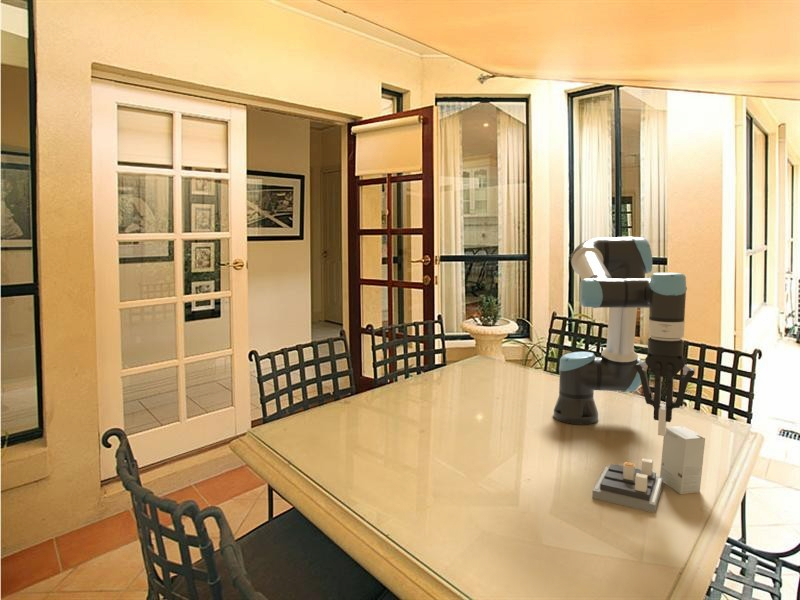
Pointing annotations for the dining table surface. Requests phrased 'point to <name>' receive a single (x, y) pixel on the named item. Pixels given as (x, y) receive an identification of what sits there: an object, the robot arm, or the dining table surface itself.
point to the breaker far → (646, 466)
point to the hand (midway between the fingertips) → (661, 433)
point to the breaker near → (641, 482)
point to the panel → (628, 499)
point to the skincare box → (682, 459)
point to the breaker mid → (629, 471)
